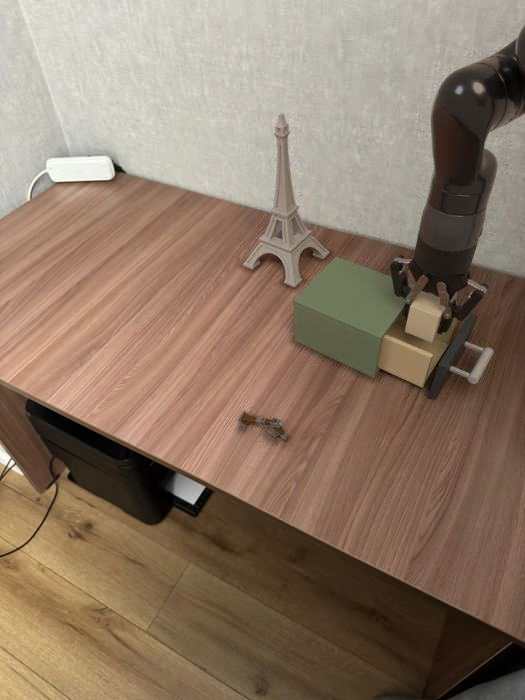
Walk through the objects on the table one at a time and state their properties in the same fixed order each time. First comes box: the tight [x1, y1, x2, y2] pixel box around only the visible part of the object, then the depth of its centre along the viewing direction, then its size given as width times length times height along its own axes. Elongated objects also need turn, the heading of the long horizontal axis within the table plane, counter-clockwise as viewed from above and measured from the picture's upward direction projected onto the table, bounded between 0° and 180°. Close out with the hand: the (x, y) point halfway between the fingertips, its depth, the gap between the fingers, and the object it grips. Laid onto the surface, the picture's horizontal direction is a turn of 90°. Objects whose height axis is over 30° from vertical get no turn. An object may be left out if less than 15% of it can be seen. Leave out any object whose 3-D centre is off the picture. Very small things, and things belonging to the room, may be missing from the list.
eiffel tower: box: [242, 112, 331, 288], centre depth 92 cm, size 13×13×30 cm
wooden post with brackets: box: [237, 410, 289, 442], centre depth 74 cm, size 2×8×4 cm, turn 60°
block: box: [405, 291, 443, 343], centre depth 74 cm, size 4×4×6 cm
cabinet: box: [293, 256, 415, 379], centre depth 83 cm, size 16×14×10 cm
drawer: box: [378, 312, 495, 401], centre depth 78 cm, size 19×13×8 cm, turn 54°
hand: (425, 324), depth 75 cm, fingers closed on block, 4 cm apart
